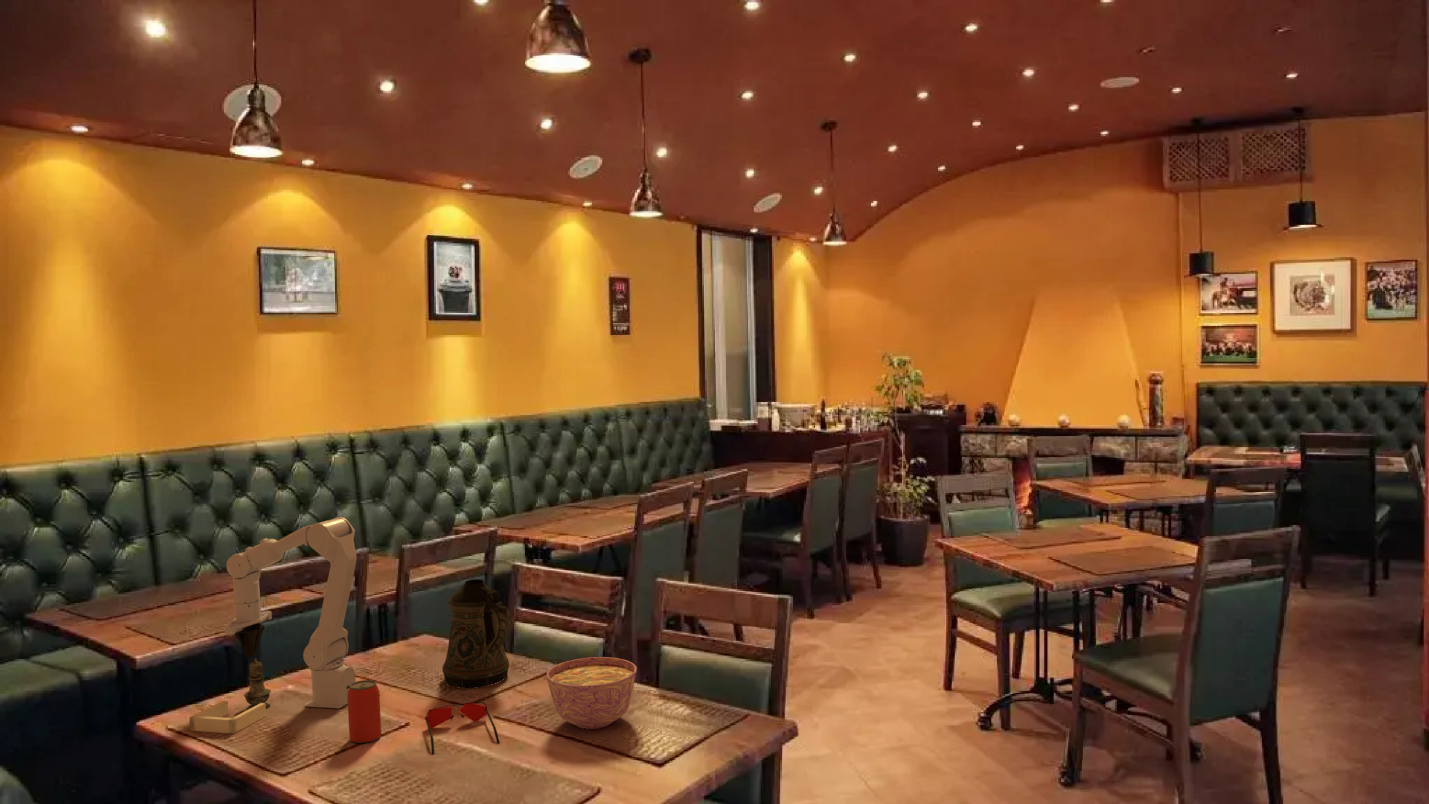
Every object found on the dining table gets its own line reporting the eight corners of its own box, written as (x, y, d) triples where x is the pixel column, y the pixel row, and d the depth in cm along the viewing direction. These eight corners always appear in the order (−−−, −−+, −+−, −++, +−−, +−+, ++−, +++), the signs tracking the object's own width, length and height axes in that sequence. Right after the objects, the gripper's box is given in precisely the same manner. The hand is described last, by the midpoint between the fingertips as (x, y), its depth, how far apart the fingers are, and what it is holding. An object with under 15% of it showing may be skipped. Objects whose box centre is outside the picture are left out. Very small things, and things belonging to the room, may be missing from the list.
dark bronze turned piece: (261, 712, 239) (258, 662, 238) (239, 711, 240) (236, 661, 239) (276, 703, 244) (274, 654, 244) (255, 702, 246) (252, 653, 245)
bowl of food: (657, 719, 227) (655, 668, 226) (588, 747, 212) (586, 692, 212) (598, 699, 240) (596, 651, 240) (529, 724, 226) (527, 673, 225)
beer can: (352, 746, 216) (349, 691, 216) (347, 736, 222) (344, 682, 221) (384, 740, 219) (381, 685, 219) (378, 730, 225) (376, 677, 225)
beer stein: (458, 667, 268) (453, 573, 267) (529, 668, 266) (525, 573, 264) (432, 688, 252) (427, 588, 251) (507, 690, 249) (503, 589, 248)
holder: (266, 715, 236) (265, 703, 236) (233, 733, 226) (233, 720, 226) (224, 713, 239) (223, 700, 239) (190, 730, 229) (189, 717, 228)
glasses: (488, 719, 231) (487, 697, 231) (500, 745, 216) (499, 722, 215) (424, 729, 226) (423, 707, 226) (432, 756, 211) (430, 733, 210)
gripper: (253, 593, 256) (256, 646, 257) (212, 608, 242) (215, 664, 243) (277, 594, 255) (281, 647, 255) (237, 609, 240) (241, 665, 241)
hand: (250, 656), depth 249 cm, fingers closed
